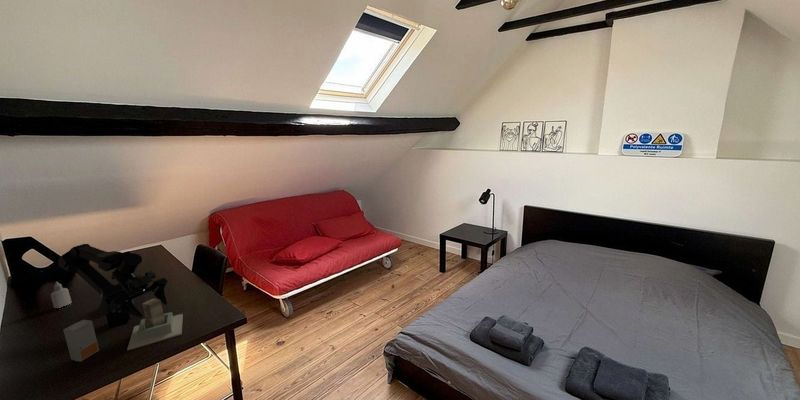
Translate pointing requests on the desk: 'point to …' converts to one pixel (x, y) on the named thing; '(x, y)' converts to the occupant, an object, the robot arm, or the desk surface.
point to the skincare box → (81, 340)
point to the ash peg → (153, 313)
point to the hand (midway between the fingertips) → (154, 310)
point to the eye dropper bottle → (60, 296)
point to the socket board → (156, 331)
